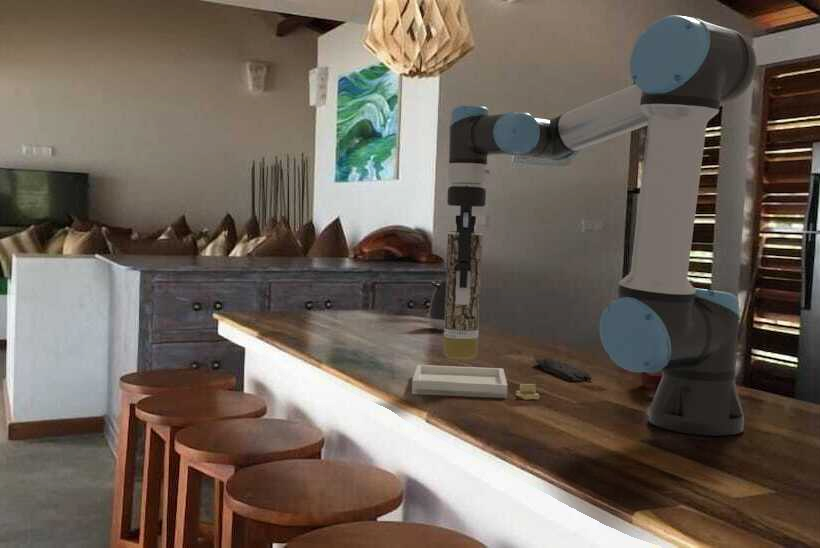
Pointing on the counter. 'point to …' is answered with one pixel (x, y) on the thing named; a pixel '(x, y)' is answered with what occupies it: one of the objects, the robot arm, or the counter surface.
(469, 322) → the paper tube
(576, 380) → the wood
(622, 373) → the counter surface
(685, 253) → the robot arm
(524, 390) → the tan short block
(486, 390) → the ceramic dish
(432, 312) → the pump dispenser
